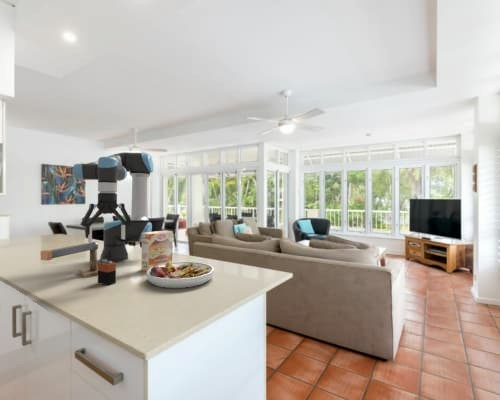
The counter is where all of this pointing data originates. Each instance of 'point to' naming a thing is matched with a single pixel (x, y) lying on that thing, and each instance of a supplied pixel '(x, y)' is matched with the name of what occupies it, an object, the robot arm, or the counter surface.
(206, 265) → the bowl
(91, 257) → the arm post
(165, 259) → the coffeecake box
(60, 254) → the swing arm
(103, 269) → the battery
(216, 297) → the counter surface
